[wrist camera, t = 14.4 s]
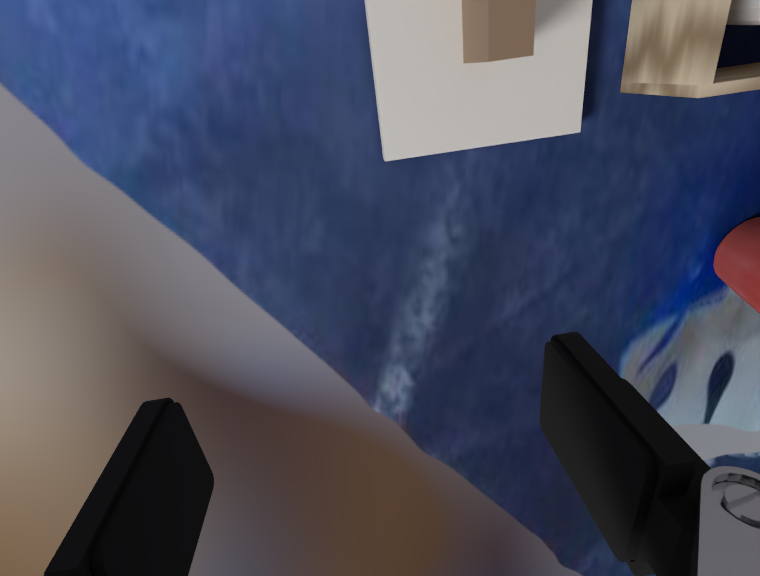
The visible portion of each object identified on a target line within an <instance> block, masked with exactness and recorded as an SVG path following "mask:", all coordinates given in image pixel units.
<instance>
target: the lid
mask: <svg viewBox="0 0 760 576" xmlns="http://www.w3.org/2000/svg"><path fill="white" fill-rule="evenodd" d="M592 1H593V0H365V9H366V17H367V25H368V34H369V42H370V51H371V59H372V67H373V76H374V84H375V93H376V101H377V109H378V118H379V126H380V135H381V143H382V151H383V159H384V161H391V160H398V159H405V158H411V157H418V156H425V155H431V154H438V153H445V152H451V151H458V150H465V149H472V148H478V147H485V146H492V145H498V144H505V143H512V142H518V141H525V140H532V139H538V138H545V137H552V136H559V135H565V134H572V133H579V132H580V130H581V119H582V108H583V97H584V87H585V76H586V65H587V55H588V44H589V33H590V22H591V12H592Z"/></svg>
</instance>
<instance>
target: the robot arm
mask: <svg viewBox="0 0 760 576" xmlns="http://www.w3.org/2000/svg"><path fill="white" fill-rule="evenodd" d="M540 424H541V428H542V431H543V433H544V435H545V436H546V438H547V440H548V441H549V443H550V445H551V447H552V448H553V450H554V452H555V453H556V455H557V457H558V459H559V460H560V462H561V464H562V466H563V467H564V469H565V471H566V472H567V474H568V476H569V478H570V479H571V481H572V483H573V485H574V486H575V488H576V490H577V491H578V493H579V495H580V497H581V498H582V500H583V502H584V503H585V505H586V507H587V509H588V510H589V512H590V514H591V516H592V517H593V519H594V521H595V522H596V524H597V526H598V528H599V529H600V531H601V533H602V535H603V536H604V538H605V540H606V541H607V543H608V545H609V547H610V548H611V550H612V552H613V553H614V555H615V556H616V558H617V559H618V560H619V561H621V562H625V561H626V562H627V564H628V566H629V568H630V569H631V571H632V573H633V574H634V576H645V575H651V574H656V576H760V474H757V473H755V472H753V471H750V470H747V469H742V468H738V467H727V466H720V467H717V468H713V469H711V468H710V467H709V466H708V465H707V464H706V463H705V462H704V461H703V460H702V459H701V458H700V457H699V456H698V454H696V452H695V451H694V450H693V449H692V448H691V447H690V446H689V445H688V444H687V443H686V442H685V441H684V440H683V439H682V438H681V437H680V436H679V434H678V433H677V432H676V431H675V430H674V429H673V428H672V427H671V426H670V425H669V424H668V423H667V422H666V421H665V420H664V419H663V418H662V417H661V416H660V414H659V413H658V412H657V411H656V410H655V409H654V408H653V407H652V406H651V405H650V404H649V403H648V402H647V401H646V400H645V399H644V398H643V397H642V395H641V394H640V393H639V392H638V391H637V390H636V389H635V388H634V387H633V386H632V385H631V384H630V383H629V382H628V381H626V380H625V379H622V378H621V377H620V376H619V375H618V374H617V373H616V372H615V371H614V370H613V369H612V368H611V367H610V366H609V365H608V364H607V363H606V361H605V360H604V359H603V358H602V357H601V356H600V355H599V354H598V353H597V352H596V351H595V350H594V349H593V348H592V347H591V345H590V344H589V343H588V342H587V341H586V340H585V339H584V338H583V337H582V336H581V335H580V334H579V333H578V332H570V333H564V334H558V335H554V336H552V338H551V341H550V342H547V343H546V344H545V353H544V366H543V380H542V393H541V407H540ZM213 487H214V477H213V473H212V471H211V469H210V466H209V464H208V462H207V460H206V458H205V456H204V454H203V451H202V449H201V447H200V445H199V443H198V441H197V438H196V436H195V434H194V432H193V430H192V428H191V426H190V423H189V421H188V419H187V417H186V415H185V412H184V410H183V408H182V406H181V404H180V403H178V402H176V403H174V401H173V400H172V399H171V398H163V399H157V400H151V401H146V402H144V403H143V404H142V405H141V406H140V408H139V410H138V411H137V413H136V415H135V417H134V418H133V420H132V422H131V424H130V425H129V427H128V429H127V431H126V432H125V434H124V436H123V437H122V439H121V441H120V443H119V444H118V446H117V448H116V449H115V451H114V453H113V455H112V457H111V458H110V460H109V462H108V463H107V465H106V467H105V468H104V470H103V472H102V474H101V475H100V477H99V479H98V481H97V482H96V484H95V486H94V488H93V489H92V491H91V493H90V494H89V496H88V498H87V500H86V501H85V503H84V505H83V506H82V508H81V510H80V512H79V513H78V515H77V517H76V519H75V521H74V522H73V524H72V526H71V527H70V529H69V531H68V532H67V534H66V536H65V538H64V539H63V541H62V543H61V545H60V546H59V548H58V550H57V551H56V553H55V555H54V557H53V558H52V560H51V562H50V564H49V565H48V567H47V569H46V571H45V572H44V576H188V574H189V570H190V567H191V563H192V560H193V556H194V553H195V549H196V546H197V543H198V539H199V536H200V532H201V529H202V525H203V522H204V518H205V515H206V512H207V508H208V504H209V501H210V498H211V494H212V491H213Z"/></svg>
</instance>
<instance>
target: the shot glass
mask: <svg viewBox="0 0 760 576" xmlns="http://www.w3.org/2000/svg"><path fill="white" fill-rule="evenodd" d="M726 25H760V0H731V5H730V9H729V14H728V18H727V23H726Z"/></svg>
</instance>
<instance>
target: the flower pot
mask: <svg viewBox="0 0 760 576" xmlns="http://www.w3.org/2000/svg"><path fill="white" fill-rule="evenodd" d="M713 264H714V270H715V273H716V274H717V276H718V277H719V278H720V279H721V280H723V281H724V282H725V283H726V284H727V285H728V286H729V287H730V288H731V289H732V290H733V291H734V292H736V293H737V294H738V295H739V296H740V297H741V298H742V299H743V300H745V301H746V302H747V303H748V304H749V305H750V306H752V307H753V308H754V309H755V310H756V311H757V312H759V313H760V217H757V218H753V219H750V220H747V221H745V222H744V223H742V224H740V225H738V226H737V227H736V228H734V229H733V230H732V231H731V232H730V233H728V234H727V235H726V237H725V238H724V239H723V240H722V242H721V243H720V245H719V246H718V248H717V250H716V253H715V257H714V263H713Z"/></svg>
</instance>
